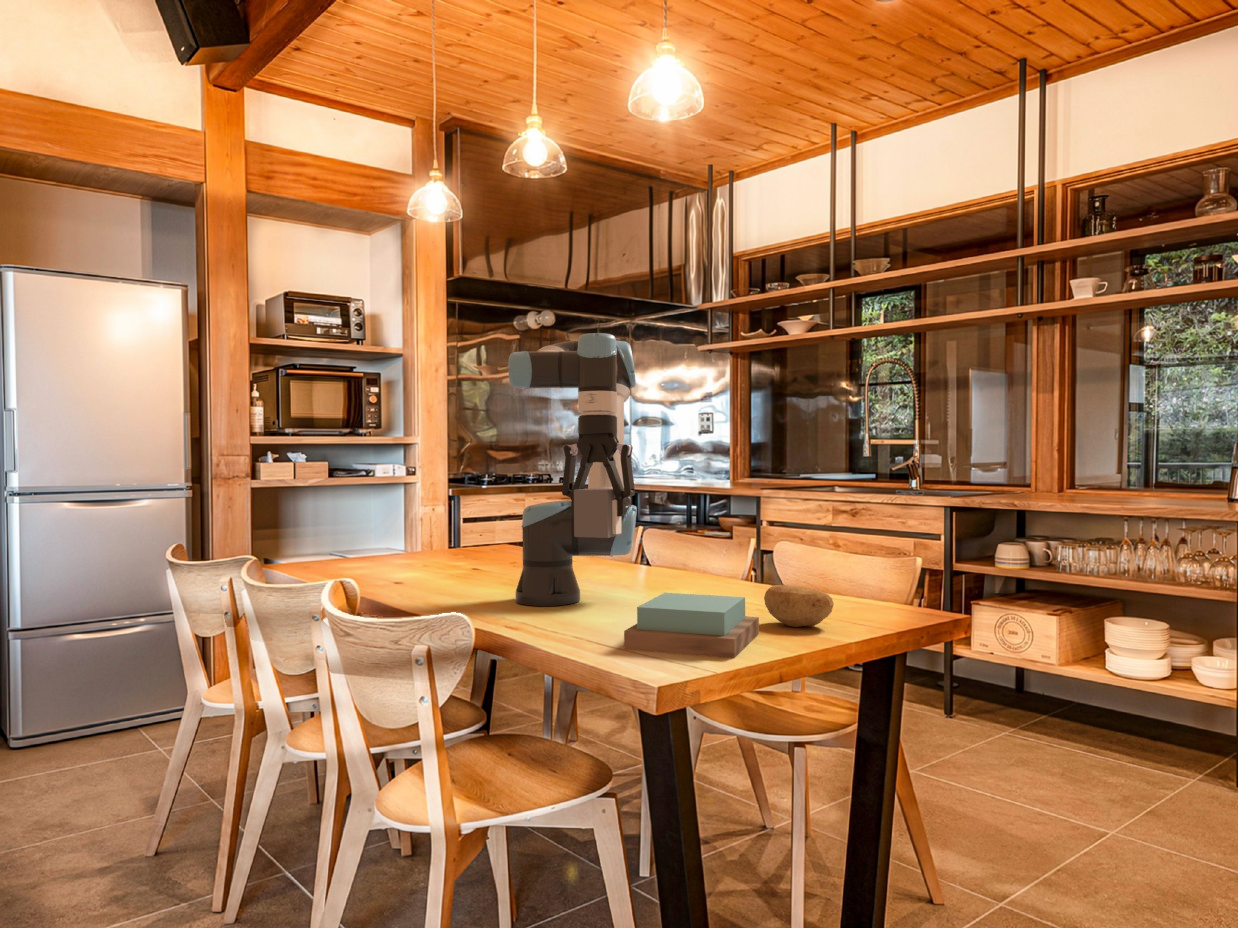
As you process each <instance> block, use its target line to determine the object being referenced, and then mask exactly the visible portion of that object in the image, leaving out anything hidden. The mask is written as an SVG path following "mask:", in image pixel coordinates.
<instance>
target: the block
mask: <svg viewBox="0 0 1238 928" xmlns="http://www.w3.org/2000/svg"><path fill="white" fill-rule="evenodd" d="M615 498H616V496H615V493H614V490H613V489H599V488H588V487H587V488H584V489H577V490H574V537H594V538H610V537H614V536H618V535H622V516H621V533H620V534H612V500H616V499H615Z"/></svg>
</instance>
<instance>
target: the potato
mask: <svg viewBox="0 0 1238 928" xmlns="http://www.w3.org/2000/svg"><path fill="white" fill-rule="evenodd" d="M763 599H764V605H765V607H766V609H767V610H768V613H769V614H770V615H771V616H772V617H773V618H775V619H776V620H777V621H778V622H780V623H782V624H783V625H786V626H788V627H794V628H798V627H814V626H817V625H819V624H820V623H822V621H824V620H825V619H826V618H828V617H829V616H830V614H831V613H832V612H833V609H834V601H833V598H832V597H831V596H830V594H828V593H827V592H824V591H822V590H819V589H814V588H813V589H811V588H807V587H803V586H798V585H786V584H775V585H772V586H770V587H769V588H767V590H766V591H765V593H764V597H763Z"/></svg>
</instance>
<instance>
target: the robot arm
mask: <svg viewBox="0 0 1238 928" xmlns="http://www.w3.org/2000/svg"><path fill="white" fill-rule="evenodd" d="M507 367H508V380H509V385H510V386H511V387H512V388H514V389H524V390H529V389H577V390H578V391H577V403H578V404H577V410H578V413H579V414H581V415H579V416H578V418H577V425H578V426H577V427H578V428H577V430H578V431H577V433H578V434H577V435H578V439H577V441H576V443H573V444H570V445H569V444H566V445H564V446H563V451H564V453H563V454H564V458H565V459H564V467H563V468H564V469H563V479H562V489H561V495H563V496H566V497H568V498H570V499H564V500H555V501H548V502H541V503H535V504H530V505H528V506H526V507H525V508H524V510H523V511H522V522H521V523H522V524H521V528H522V571H521V573H520V576H519V579H518V580H519V581H518V583H517V587H516V589H515V603H517V604H519V605H524V606H534V607H551V606H552V607H553V606H554V607H557V606H566V605H571V604H572V605H573V604H575V603H579V602H580V601H581V589H580V587H579V584H578V580H577V577H576V573H575V571H574V568H573V567H574V566H573V557H576V556H577V557H589V556H590V557H591V556H592V557H598V556H599V557H601V556H602V557H607V556H608V557H609V556H610V557H612V558H613V557H614V556H615V557H616V556H627V555H629V554H630V553H631V552H632V549H633V545H634V538H635V531H636V523H637V522H636V521H637V511H638V510H637V509H638V508H637V506H636V505H634V504H632V503H631V501H632V500H631V499H632V498H631V497H633V496H635V495H636V489H635V482H634V481H635V479H634V472H633V465H632V453H633V446H632V444H625V400H626V399H627V398H628V397H629V396H630V394H631V389H633V388H636V386H637V385H636V372H635V362H634V357H633V351H632V347H631V345H630V343H629V342H627V341H625V340H617V339H616V337H615V335H614V334H611V333H603V332H602V333H601V332H599V333H597V332H596V333H595V332H593V333H584V334H581V335H579V337H578V339H577V340H569V341H568V340H567V341H560V342H556V343H552V344H550V345H545V346H542V347H541V348H539V349H538V350H536V351H533V350H532V351H526V350H522V351H513V352H511V353H510V355H509V357H508V366H507ZM578 451H579V452H580V454H581V455H582V456H581V460H580V462H579V468H578V472H577V474H576V476H575V473H576V472H575V471H576V464H577V454H578ZM575 477H576V478H575ZM587 480H588V481H587ZM587 482H588V483H587ZM586 483H587V485H588V486H587V489H588V488H599V489H613V490H614V493H615V496H616V498H615V499H616V500H612V534H620V533H621V516H622V535H618V536H614V537H610V538H594V537H574V490H577V489H585V485H586Z"/></svg>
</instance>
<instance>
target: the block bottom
mask: <svg viewBox="0 0 1238 928" xmlns="http://www.w3.org/2000/svg"><path fill="white" fill-rule="evenodd" d="M623 633H624V634H623V643H624V644H623V646H624V647H623V649H624V650H625V651H626V650H627V651H640V652H653V653H665V654H677V655H690V656H703V657H716V658H726V659H728V658H729V659H735V658H737V657H738V655H739V654H741V653H742V651H744V650H745V648H747V647H748V645H750V644H751V643H752V642H753V641H754V640H755V639H756V638H757V637H758V636H759V635H760V617H758V616H746V615H745V619H744V620H743V621H741V622H740V623H739V624H738V625H737V626H735V627H734V628H733V629H732V630H731V631H729V632H728V633H727V634H726V635H725V636H722V635H709V634H695V633H681V632H668V631H654V630H640V629H637V623H635V624H633V625H632V626H630V627H628V628H626V629H625V630H624V631H623Z"/></svg>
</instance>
